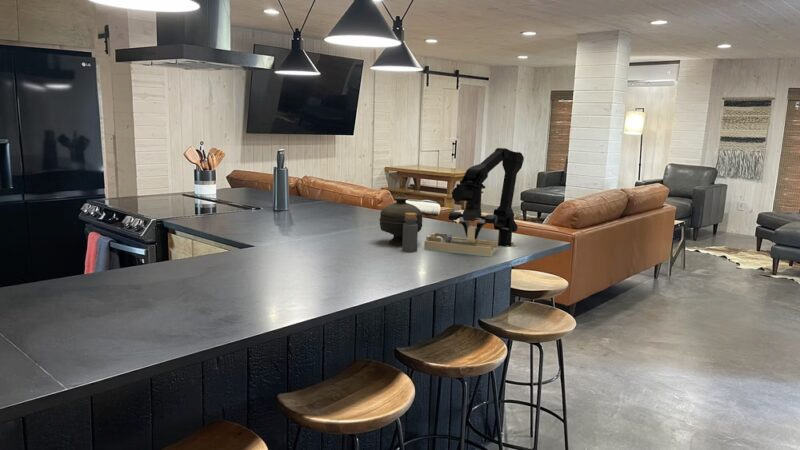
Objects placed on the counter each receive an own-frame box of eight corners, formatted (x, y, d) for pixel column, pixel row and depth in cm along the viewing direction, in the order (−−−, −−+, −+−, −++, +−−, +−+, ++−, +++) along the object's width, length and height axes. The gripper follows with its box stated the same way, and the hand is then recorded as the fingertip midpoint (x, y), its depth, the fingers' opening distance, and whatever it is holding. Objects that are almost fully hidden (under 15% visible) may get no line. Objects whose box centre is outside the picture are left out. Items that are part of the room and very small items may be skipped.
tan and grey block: (448, 244, 239) (449, 224, 238) (476, 247, 236) (477, 226, 234) (445, 246, 235) (446, 225, 233) (473, 249, 231) (474, 228, 230)
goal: (433, 241, 244) (433, 232, 244) (446, 243, 242) (447, 233, 242) (425, 246, 235) (426, 236, 234) (440, 247, 233) (440, 238, 232)
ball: (438, 233, 240) (445, 238, 239) (434, 241, 241) (441, 245, 240) (435, 235, 236) (443, 240, 236) (431, 242, 237) (438, 247, 237)
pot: (370, 243, 237) (374, 195, 235) (387, 240, 254) (391, 194, 252) (411, 249, 231) (415, 199, 229) (426, 245, 248) (430, 199, 246)
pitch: (434, 243, 246) (434, 235, 246) (497, 250, 237) (498, 241, 237) (424, 249, 233) (424, 241, 233) (490, 256, 224) (491, 248, 224)
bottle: (415, 252, 227) (417, 215, 224) (400, 251, 228) (402, 214, 225) (418, 249, 233) (419, 212, 230) (403, 248, 234) (405, 211, 231)
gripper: (445, 200, 226) (444, 240, 229) (493, 204, 220) (490, 244, 223) (453, 197, 236) (451, 235, 239) (498, 201, 230) (496, 239, 233)
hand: (471, 238), depth 233 cm, fingers closed on tan and grey block, 3 cm apart
